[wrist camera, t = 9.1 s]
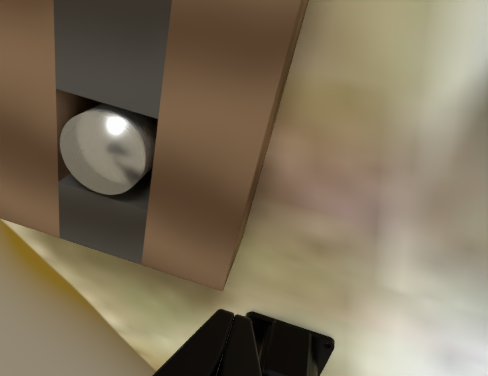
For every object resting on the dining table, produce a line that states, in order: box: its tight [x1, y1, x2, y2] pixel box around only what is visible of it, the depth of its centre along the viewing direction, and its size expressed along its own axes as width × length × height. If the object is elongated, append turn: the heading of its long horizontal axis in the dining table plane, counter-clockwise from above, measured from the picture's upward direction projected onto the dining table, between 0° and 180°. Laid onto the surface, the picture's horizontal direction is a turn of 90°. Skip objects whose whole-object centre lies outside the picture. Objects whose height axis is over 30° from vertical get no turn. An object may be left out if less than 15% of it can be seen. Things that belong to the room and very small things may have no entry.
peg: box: [60, 103, 158, 195], centre depth 19 cm, size 4×4×5 cm
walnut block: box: [0, 0, 309, 291], centre depth 17 cm, size 24×14×5 cm, turn 167°
